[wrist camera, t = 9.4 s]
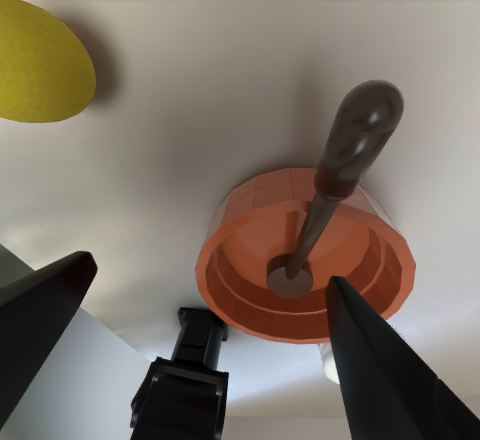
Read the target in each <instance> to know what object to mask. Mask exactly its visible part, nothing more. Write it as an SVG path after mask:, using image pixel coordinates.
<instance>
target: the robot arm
mask: <svg viewBox="0 0 480 440" xmlns="http://www.w3.org/2000/svg"><path fill="white" fill-rule="evenodd" d="M97 270H98V268H97V265H96V263H95V260H94V258H93V256H92V254H91V253H90V252H87V251H77V252H74V253H72V254H70V255H68V256H66V257H64V258H62V259H60V260H58V261H55V262H53V263H51V264H49V265H47V266H45V267H43V268H41V269H39V270H37V271H34V272H32V273H30V274H28V275H26V276H24V277H22V278H20V279H18V280H15V281H13V282H11V283H9V284H7V285H5V286H3V287H1V288H0V431H1V429H2V427H3V426H4V424H5V423H6V421H7V420H8V418H9V416H10V415H11V413H12V412H13V410H14V409H15V407H16V406H17V404H18V402H19V401H20V399H21V398H22V396H23V395H24V393H25V391H26V390H27V388H28V387H29V385H30V384H31V382H32V381H33V379H34V377H35V376H36V374H37V373H38V371H39V370H40V368H41V366H42V365H43V363H44V362H45V360H46V358H47V357H48V356H49V354H50V352H51V351H52V349H53V348H54V346H55V345H56V343H57V341H58V340H59V338H60V337H61V335H62V334H63V332H64V330H65V329H66V327H67V326H68V324H69V323H70V321H71V319H72V318H73V316H74V315H75V313H76V312H77V310H78V308H79V306H80V304H81V303H82V301H83V299H84V297H85V295H86V293H87V291H88V289H89V287H90V285H91V283H92V281H93V279H94V277H95V275H96V273H97ZM325 300H326V309H327V319H328V328H329V336H330V342H331V348H332V352H333V356H334V361H335V365H336V370H337V374H338V379H339V383H340V388H341V392H342V397H343V401H344V406H345V410H346V415H347V419H348V424H349V428H350V433H351V437H352V440H480V420H479V419H478V418H477V417H476V416H475V415H474V414H473V412H471V411H470V410H469V408H468V407H467V406H465V404H464V403H463V402H462V401H461V400H460V399H459V398H458V397H457V396H456V395H455V394H454V393H453V392H452V391H451V390H450V389H449V388H448V386H447V385H446V384H445V383H444V382H443V381H442V380H441V379H438V376H437V375H436V374H435V373H434V372H433V371H432V370H431V369H430V367H429V366H428V365H427V364H426V363H425V362H424V361H423V360H422V359H421V358H420V357H419V356H418V355H417V354H416V353H415V352H414V350H413V349H412V348H411V347H410V346H409V345H408V344H407V343H406V342H405V341H404V340H403V339H402V338H401V337H400V336H399V335H398V333H397V332H396V331H395V330H394V329H393V328H392V327H391V326H390V325H389V324H388V323H387V322H386V321H385V320H384V319H383V318H382V316H381V315H380V314H379V313H378V312H377V311H376V310H375V309H374V308H373V307H372V306H371V305H370V304H369V303H368V302H367V301H366V299H365V298H364V297H363V296H362V295H361V294H360V293H359V292H358V291H357V290H356V289H355V288H354V287H353V286H352V285H351V284H350V282H349V281H348V280H347V279H346V278H345V277H343V276H334V275H333V276H331V277H330V279H329V282H328V285H327V288H326V291H325ZM178 316H179V319H180V323H181V327H182V328H181V331H180V333H179V336H178V339H177V342H176V345H175V348H174V351H173V354H172V357H171V360H167V359H163V358H162V357H158V356H157V358H156V360H155V361H154V362H152V363H151V365H150V368H149V370H148V372H147V375H146V377H145V379H144V381H143V383H142V384H141V386H140V388H139V390H138V391H137V393H136V395H135V397H134V398H133V400H132V403H131V408H132V418H131V423H130V428H134V430H133V433H132V436H131V439H130V440H221V435H222V430H223V424H224V418H225V410H226V399H227V388H228V378H229V373H228V372H220V371H216V370H217V364H218V359H219V353H220V348H221V342H222V341H227V338H228V336H227V323H226V322H224V321H223V320H222V319H221V318H220V317H219V316H217V315H216V314H215V313H214V312H210V311H201V310H192V309H183V308H180V309H179V310H178ZM216 393H217V394H216Z"/></svg>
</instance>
